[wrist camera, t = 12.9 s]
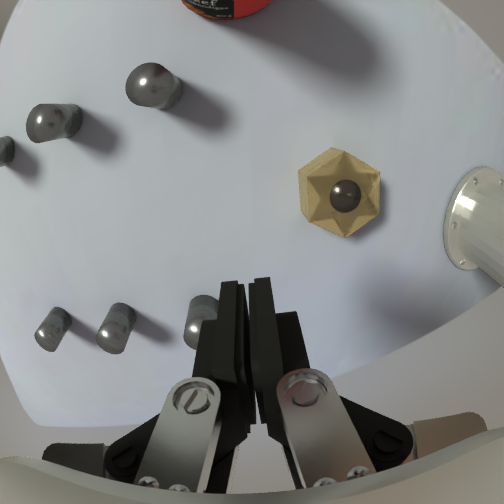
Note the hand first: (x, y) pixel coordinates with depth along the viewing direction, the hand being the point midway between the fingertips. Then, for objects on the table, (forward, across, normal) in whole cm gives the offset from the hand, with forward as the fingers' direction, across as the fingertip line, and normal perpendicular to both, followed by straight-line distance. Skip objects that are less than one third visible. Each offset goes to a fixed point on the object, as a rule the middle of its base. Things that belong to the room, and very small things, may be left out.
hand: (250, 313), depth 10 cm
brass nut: (+15, -7, 0) cm, 17 cm away
